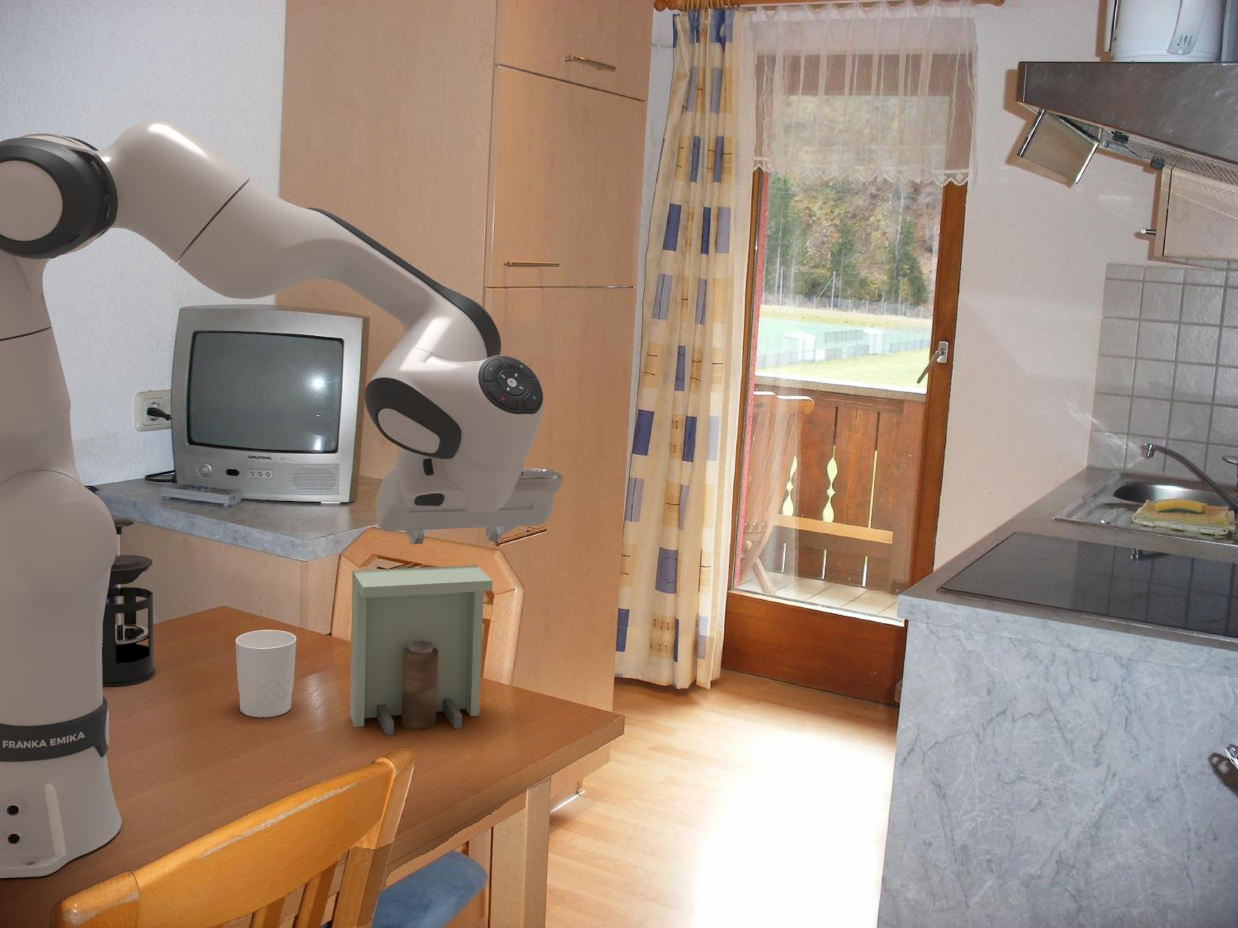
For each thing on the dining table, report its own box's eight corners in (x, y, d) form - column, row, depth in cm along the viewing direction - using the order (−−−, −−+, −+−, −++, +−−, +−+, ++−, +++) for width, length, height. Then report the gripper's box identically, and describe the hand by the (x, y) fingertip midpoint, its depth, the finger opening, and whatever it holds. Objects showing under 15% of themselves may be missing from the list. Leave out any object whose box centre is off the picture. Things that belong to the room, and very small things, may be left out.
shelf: (360, 738, 153) (363, 587, 149) (350, 716, 160) (352, 570, 156) (486, 726, 159) (492, 580, 156) (471, 704, 166) (476, 565, 163)
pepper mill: (405, 731, 156) (407, 651, 154) (398, 718, 160) (400, 640, 158) (439, 727, 158) (441, 649, 156) (431, 715, 162) (433, 638, 160)
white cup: (278, 722, 156) (279, 651, 155) (224, 715, 158) (224, 644, 156) (305, 702, 164) (306, 633, 162) (253, 695, 165) (253, 626, 164)
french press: (168, 665, 175) (167, 514, 171) (148, 687, 166) (146, 529, 162) (87, 663, 174) (84, 511, 170) (62, 685, 165) (58, 526, 161)
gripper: (561, 447, 135) (532, 512, 146) (383, 449, 127) (366, 517, 138) (573, 493, 132) (542, 556, 142) (391, 498, 124) (372, 564, 135)
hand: (454, 537), depth 140 cm, fingers open, 8 cm apart
